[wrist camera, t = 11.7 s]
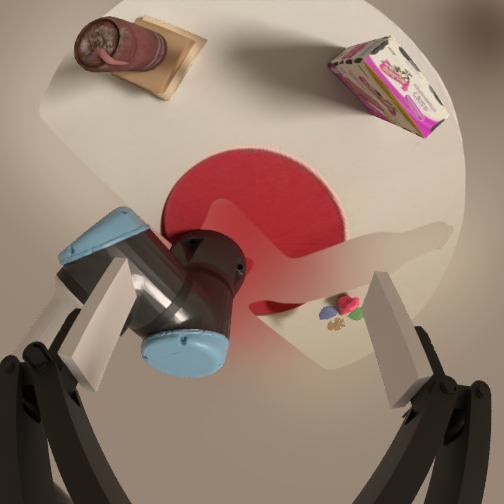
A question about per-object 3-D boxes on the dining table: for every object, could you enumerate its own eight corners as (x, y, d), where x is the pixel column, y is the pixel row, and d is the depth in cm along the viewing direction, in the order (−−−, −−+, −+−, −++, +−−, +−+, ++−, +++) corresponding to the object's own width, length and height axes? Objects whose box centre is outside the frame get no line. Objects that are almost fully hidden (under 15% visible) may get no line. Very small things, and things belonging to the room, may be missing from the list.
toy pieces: (311, 300, 59) (314, 315, 56) (362, 285, 57) (367, 300, 53) (322, 334, 66) (324, 348, 62) (366, 321, 63) (371, 335, 59)
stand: (170, 100, 38) (159, 102, 34) (115, 74, 35) (100, 75, 31) (207, 40, 33) (200, 35, 29) (148, 16, 30) (135, 10, 26)
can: (149, 80, 32) (97, 85, 20) (120, 56, 30) (61, 54, 18) (179, 48, 29) (137, 34, 18) (148, 24, 27) (97, 5, 15)
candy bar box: (324, 66, 34) (360, 58, 21) (346, 47, 32) (391, 32, 19) (373, 118, 38) (425, 141, 25) (394, 100, 36) (452, 115, 22)
